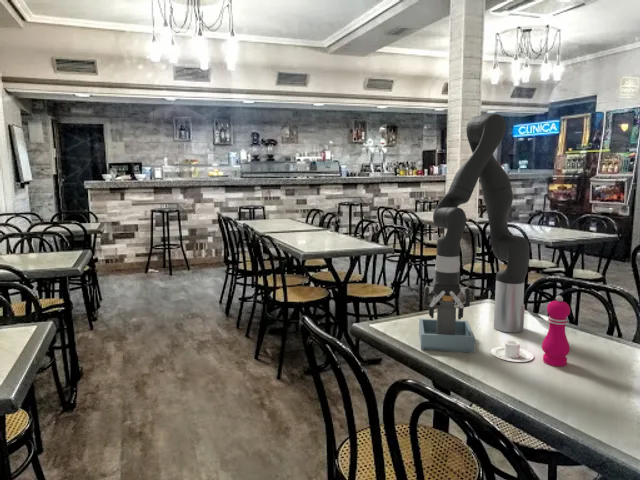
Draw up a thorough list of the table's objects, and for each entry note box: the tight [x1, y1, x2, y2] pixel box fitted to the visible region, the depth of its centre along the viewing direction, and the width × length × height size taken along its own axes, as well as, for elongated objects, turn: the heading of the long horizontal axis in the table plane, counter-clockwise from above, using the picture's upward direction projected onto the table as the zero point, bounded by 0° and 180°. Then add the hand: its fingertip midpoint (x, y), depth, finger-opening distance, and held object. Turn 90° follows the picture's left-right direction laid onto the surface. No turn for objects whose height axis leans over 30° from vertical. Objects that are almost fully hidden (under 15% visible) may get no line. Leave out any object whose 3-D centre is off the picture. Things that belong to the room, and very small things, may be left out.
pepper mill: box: [541, 295, 571, 367], centre depth 137 cm, size 7×7×20 cm
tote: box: [418, 318, 476, 354], centre depth 155 cm, size 16×16×5 cm
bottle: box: [436, 295, 457, 335], centre depth 154 cm, size 6×6×15 cm
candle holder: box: [490, 340, 535, 363], centre depth 144 cm, size 12×12×4 cm
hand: (445, 318), depth 154 cm, fingers open, 8 cm apart
